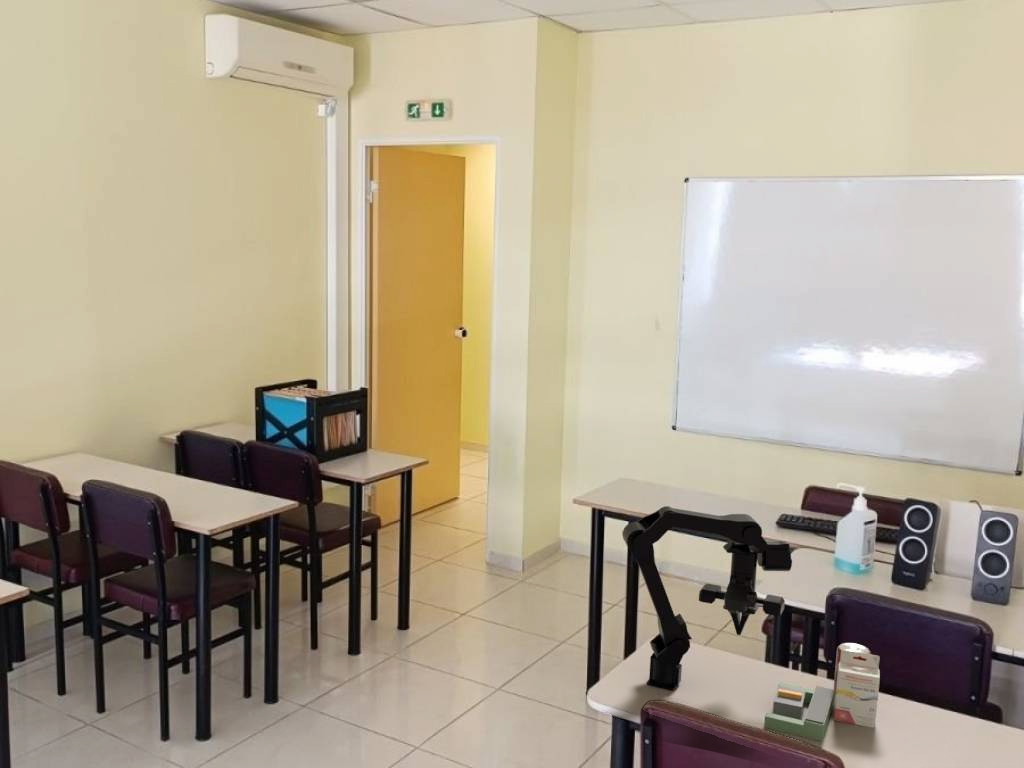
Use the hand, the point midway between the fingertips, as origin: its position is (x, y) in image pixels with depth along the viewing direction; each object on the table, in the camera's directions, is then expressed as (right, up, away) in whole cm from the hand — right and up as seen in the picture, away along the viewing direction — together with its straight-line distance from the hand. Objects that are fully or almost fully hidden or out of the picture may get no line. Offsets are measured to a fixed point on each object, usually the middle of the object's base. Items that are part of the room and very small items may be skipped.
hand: (739, 634), depth 225 cm
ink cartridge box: (+22, -15, -14) cm, 30 cm away
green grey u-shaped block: (+11, -15, -13) cm, 23 cm away
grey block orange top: (+9, -14, -10) cm, 20 cm away
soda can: (+24, -14, -4) cm, 28 cm away
